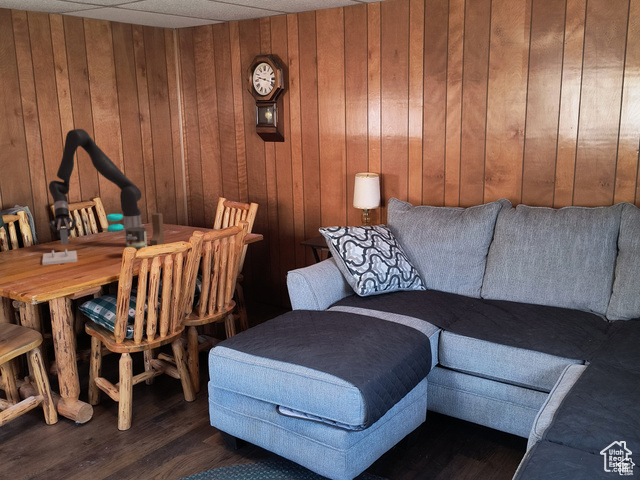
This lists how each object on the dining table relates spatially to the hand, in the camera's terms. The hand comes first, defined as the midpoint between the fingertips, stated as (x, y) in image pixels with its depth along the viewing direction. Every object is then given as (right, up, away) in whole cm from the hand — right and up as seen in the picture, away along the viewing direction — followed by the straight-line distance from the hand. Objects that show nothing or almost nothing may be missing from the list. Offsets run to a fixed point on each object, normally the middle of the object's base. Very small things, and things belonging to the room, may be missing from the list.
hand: (64, 236), depth 321 cm
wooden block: (+46, -6, +14) cm, 49 cm away
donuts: (+7, +4, +62) cm, 62 cm away
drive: (-1, -4, +3) cm, 5 cm away
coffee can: (+42, -10, -7) cm, 44 cm away
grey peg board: (+4, -12, -13) cm, 18 cm away
